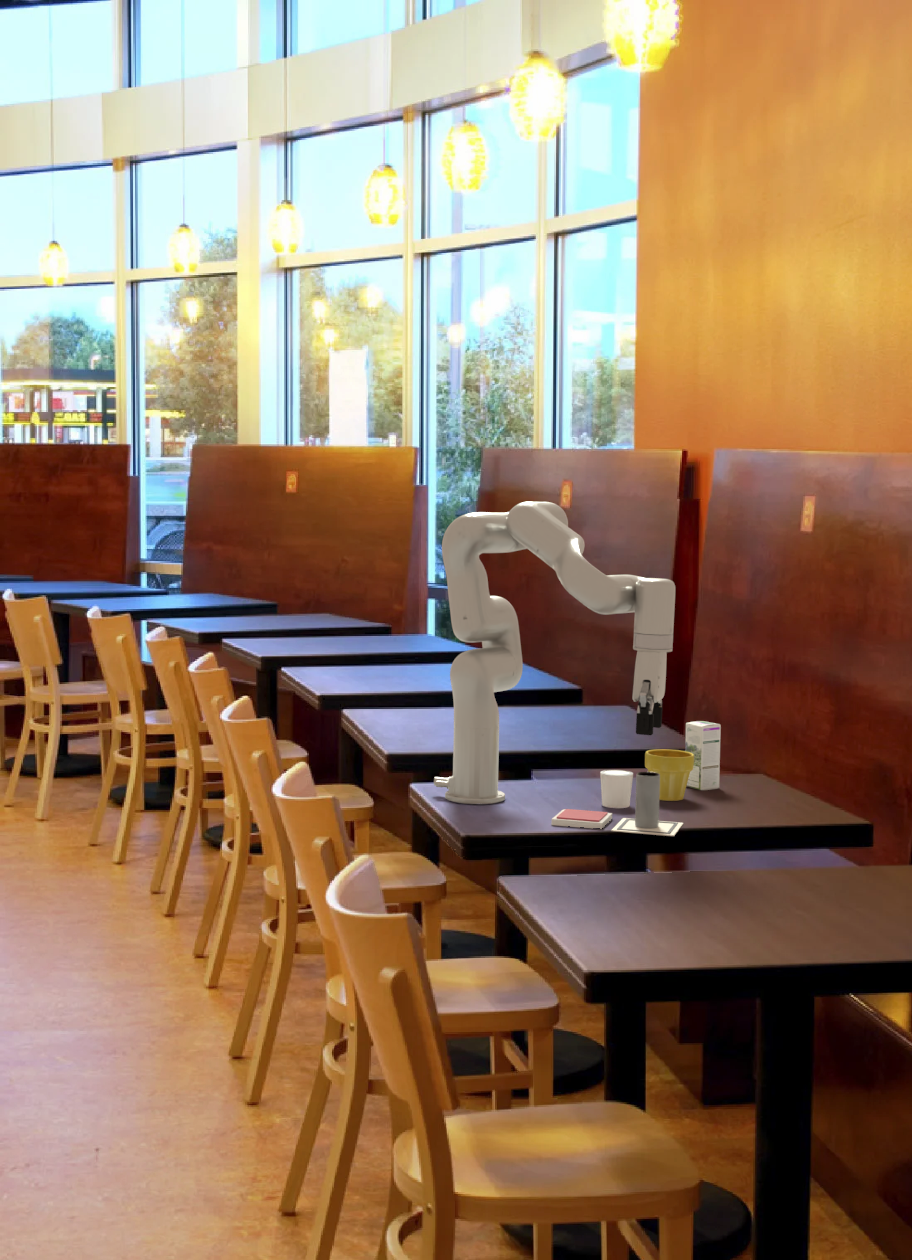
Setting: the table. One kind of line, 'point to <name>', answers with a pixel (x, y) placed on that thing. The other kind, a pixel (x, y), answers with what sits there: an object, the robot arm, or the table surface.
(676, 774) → the plant pot
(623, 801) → the white cup
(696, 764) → the syrup box
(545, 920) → the table surface
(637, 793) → the grey cylinder
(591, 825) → the ink pad
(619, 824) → the print card
